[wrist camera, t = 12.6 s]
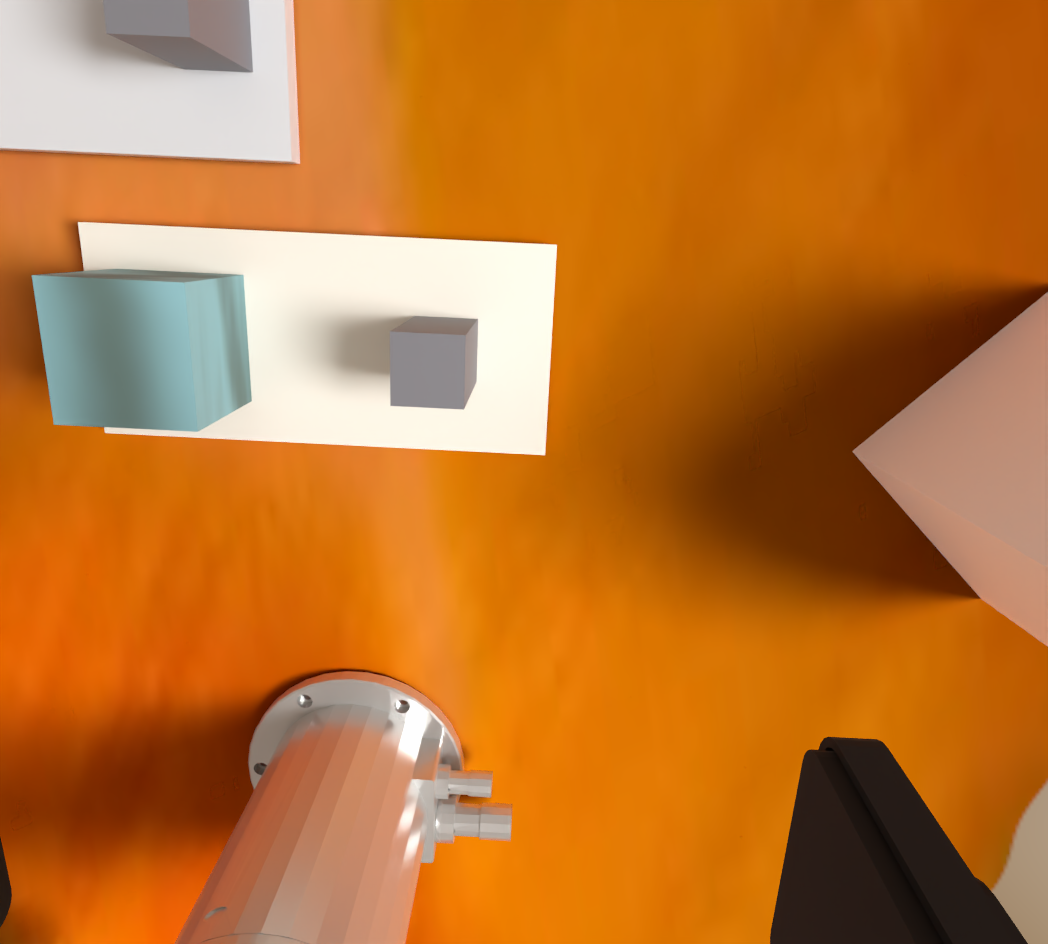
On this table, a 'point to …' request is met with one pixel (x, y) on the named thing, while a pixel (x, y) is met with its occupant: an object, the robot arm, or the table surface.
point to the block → (143, 347)
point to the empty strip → (150, 78)
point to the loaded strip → (370, 333)
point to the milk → (981, 468)
